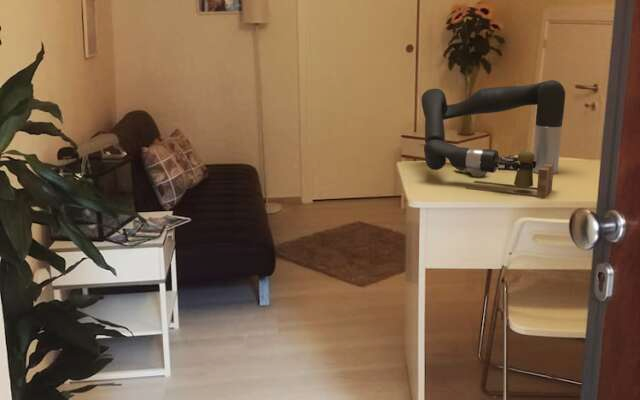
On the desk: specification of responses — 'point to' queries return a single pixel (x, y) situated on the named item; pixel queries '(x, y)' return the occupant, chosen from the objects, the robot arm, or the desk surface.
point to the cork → (524, 176)
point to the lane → (542, 188)
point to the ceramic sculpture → (473, 172)
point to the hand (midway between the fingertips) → (534, 166)
